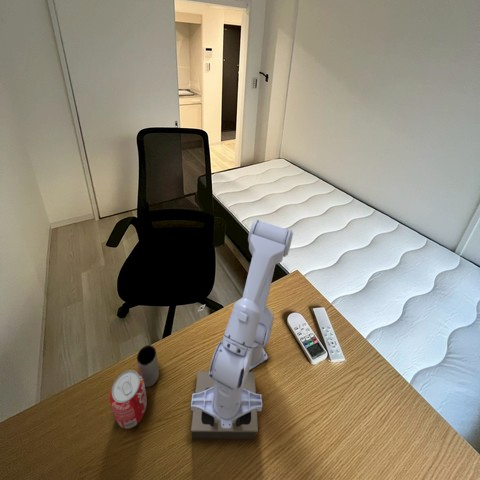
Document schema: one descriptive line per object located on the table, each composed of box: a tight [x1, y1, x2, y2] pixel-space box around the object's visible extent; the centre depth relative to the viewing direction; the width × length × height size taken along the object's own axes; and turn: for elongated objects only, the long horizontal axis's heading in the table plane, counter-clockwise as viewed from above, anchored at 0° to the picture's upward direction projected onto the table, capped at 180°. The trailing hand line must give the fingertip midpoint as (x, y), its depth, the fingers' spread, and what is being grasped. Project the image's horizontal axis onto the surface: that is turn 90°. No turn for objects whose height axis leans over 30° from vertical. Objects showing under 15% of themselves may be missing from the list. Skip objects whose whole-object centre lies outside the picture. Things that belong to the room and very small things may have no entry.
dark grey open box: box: [191, 432, 258, 440], centre depth 59 cm, size 10×15×5 cm
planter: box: [136, 344, 160, 388], centre depth 63 cm, size 4×4×10 cm
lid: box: [190, 370, 259, 433], centre depth 57 cm, size 11×15×4 cm
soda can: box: [109, 369, 148, 430], centre depth 56 cm, size 7×7×12 cm
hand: (224, 420), depth 54 cm, fingers closed on lid, 5 cm apart
